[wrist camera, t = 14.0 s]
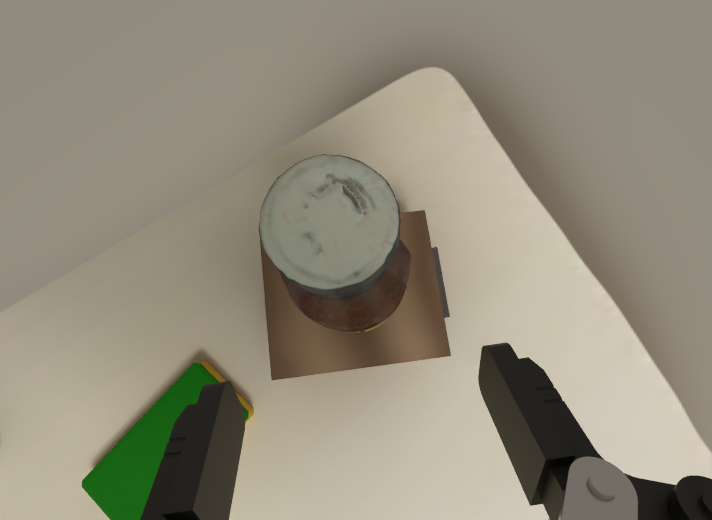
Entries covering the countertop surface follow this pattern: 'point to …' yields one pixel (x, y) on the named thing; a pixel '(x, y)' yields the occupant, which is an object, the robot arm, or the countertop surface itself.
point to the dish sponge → (146, 448)
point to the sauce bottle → (336, 242)
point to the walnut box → (365, 349)
